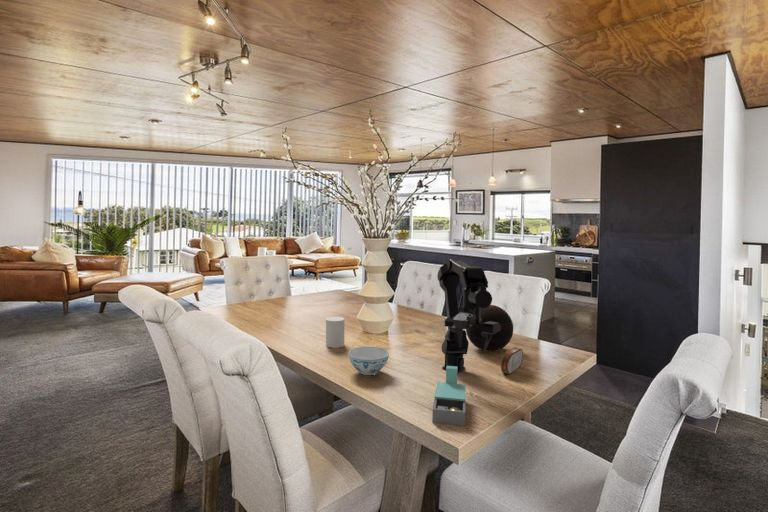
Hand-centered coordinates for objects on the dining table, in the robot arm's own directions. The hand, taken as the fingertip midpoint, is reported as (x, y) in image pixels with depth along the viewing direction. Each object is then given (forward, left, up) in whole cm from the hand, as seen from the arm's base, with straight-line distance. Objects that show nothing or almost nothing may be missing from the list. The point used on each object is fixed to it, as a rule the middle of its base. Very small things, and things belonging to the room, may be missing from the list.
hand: (471, 349), depth 147 cm
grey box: (+8, -24, -13) cm, 28 cm away
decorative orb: (-16, +41, -13) cm, 46 cm away
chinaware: (-34, -15, -13) cm, 39 cm away
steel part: (+7, -27, -13) cm, 30 cm away
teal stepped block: (+3, -17, -13) cm, 21 cm away
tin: (+3, +25, -13) cm, 28 cm away
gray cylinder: (-68, -2, -13) cm, 69 cm away
